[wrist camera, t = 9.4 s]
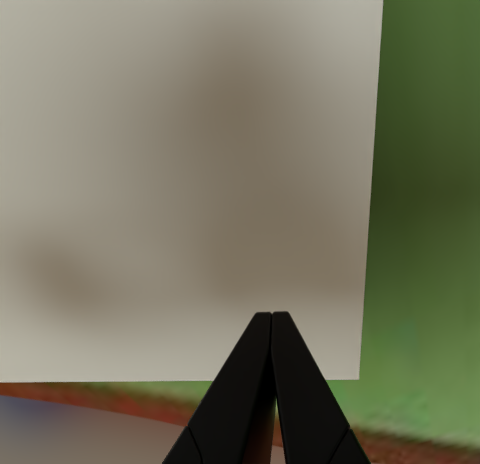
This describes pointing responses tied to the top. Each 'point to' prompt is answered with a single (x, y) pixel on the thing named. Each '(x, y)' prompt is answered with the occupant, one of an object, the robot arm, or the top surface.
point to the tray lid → (182, 182)
